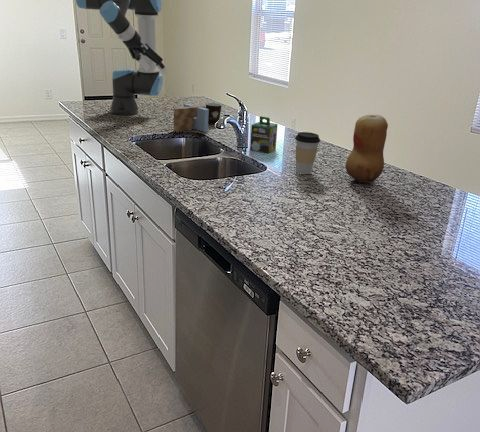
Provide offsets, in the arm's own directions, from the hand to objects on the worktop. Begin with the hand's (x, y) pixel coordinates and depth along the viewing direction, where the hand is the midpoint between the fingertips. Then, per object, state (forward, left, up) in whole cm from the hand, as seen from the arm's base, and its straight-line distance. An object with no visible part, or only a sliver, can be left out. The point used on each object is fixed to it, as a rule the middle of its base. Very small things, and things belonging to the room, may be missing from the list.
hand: (157, 71), depth 215 cm
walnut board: (+7, +15, -28) cm, 32 cm away
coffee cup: (+84, +6, -28) cm, 89 cm away
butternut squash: (+104, +16, -28) cm, 109 cm away
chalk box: (+53, +18, -28) cm, 62 cm away
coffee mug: (+1, +35, -28) cm, 44 cm away
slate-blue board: (+7, +19, -28) cm, 34 cm away
